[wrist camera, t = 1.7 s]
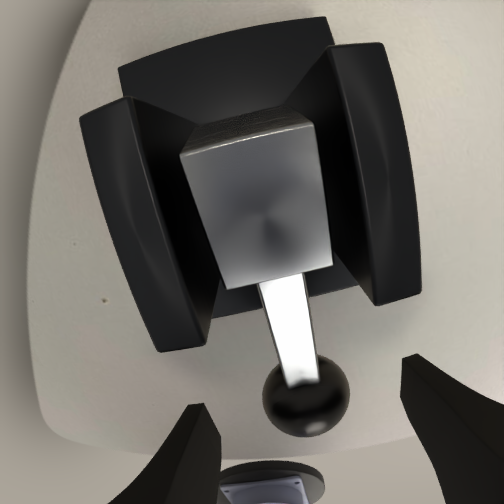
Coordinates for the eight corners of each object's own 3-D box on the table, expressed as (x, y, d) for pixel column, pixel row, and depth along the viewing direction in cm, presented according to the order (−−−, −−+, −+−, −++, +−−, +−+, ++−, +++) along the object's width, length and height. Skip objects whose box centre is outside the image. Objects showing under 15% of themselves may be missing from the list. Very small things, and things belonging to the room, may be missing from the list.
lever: (339, 374, 13) (357, 437, 10) (267, 390, 13) (275, 455, 10) (305, 98, 7) (355, 121, 4) (174, 129, 7) (141, 172, 4)
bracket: (372, 270, 15) (476, 396, 6) (195, 311, 16) (148, 468, 7) (320, 25, 11) (401, -99, 3) (126, 72, 12) (-13, 8, 3)
